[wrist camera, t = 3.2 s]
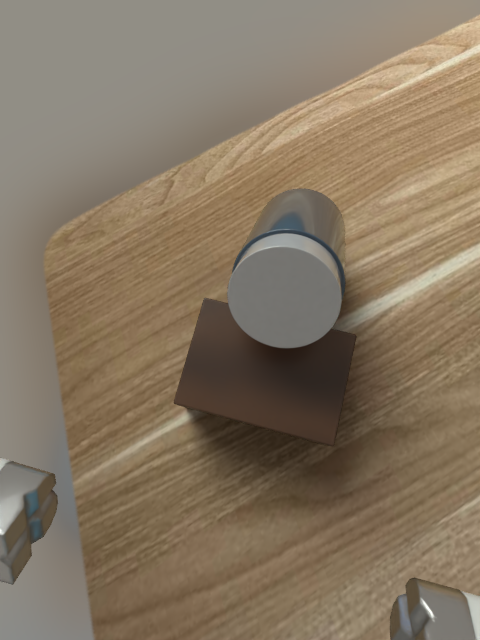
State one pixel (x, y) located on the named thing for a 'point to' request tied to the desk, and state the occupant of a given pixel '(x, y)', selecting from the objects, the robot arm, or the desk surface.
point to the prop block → (265, 378)
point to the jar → (290, 271)
